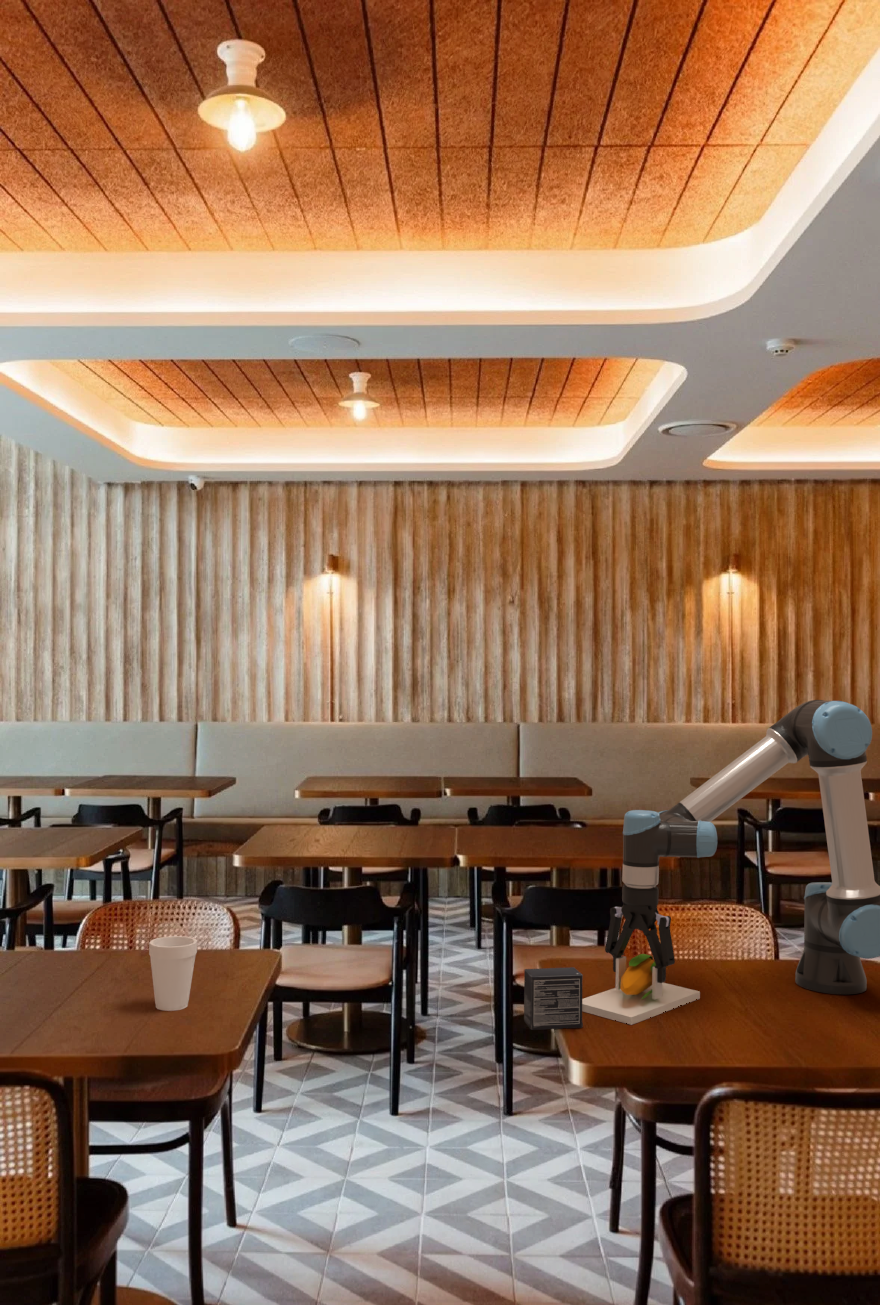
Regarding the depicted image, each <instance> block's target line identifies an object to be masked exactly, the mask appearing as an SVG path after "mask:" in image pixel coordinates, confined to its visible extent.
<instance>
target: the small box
mask: <svg viewBox="0 0 880 1305" xmlns="http://www.w3.org/2000/svg"><path fill="white" fill-rule="evenodd" d="M523 971H524V973H523V974H524V975H523V976H524V979H523V980H524V981H523V982H524V984H523V990H524V991H523V992H524V993H523V998H524V999H523V1021H524V1023H525V1024H526V1025H527V1027H528V1028H529V1029H530V1030H532V1031H540V1030H541V1031H543V1030H560V1029H561V1030H562V1029H563V1028H566V1029H582V1028H583V1027H584V1026H583V1025H584V1024H583V1011H582V999H583V975H584V974H582V973H581V972H580V971H579V970H578V969H576V968H575V967H549V968H548V967H547V968H546V967H545V968H543V967H542V968H524V970H523ZM563 1030H564V1029H563Z"/></svg>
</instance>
